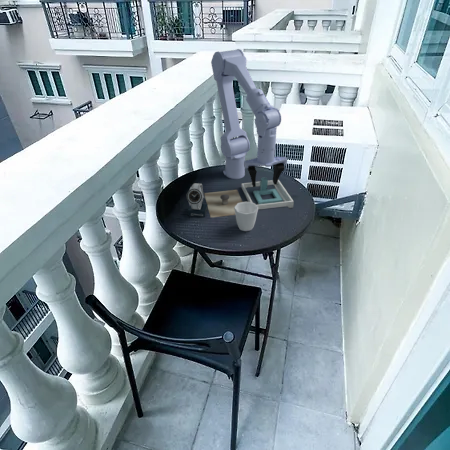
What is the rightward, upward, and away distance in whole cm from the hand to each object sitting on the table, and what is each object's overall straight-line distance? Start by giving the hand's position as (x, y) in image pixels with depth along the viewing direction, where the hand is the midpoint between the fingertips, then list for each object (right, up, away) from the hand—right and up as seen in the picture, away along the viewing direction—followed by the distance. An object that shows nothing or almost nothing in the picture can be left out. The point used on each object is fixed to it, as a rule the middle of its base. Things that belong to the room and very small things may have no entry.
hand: (264, 184), depth 116 cm
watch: (-22, -11, -8) cm, 26 cm away
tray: (+1, -5, 0) cm, 5 cm away
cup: (-7, -15, -14) cm, 22 cm away
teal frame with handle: (+1, -5, -2) cm, 5 cm away
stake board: (-14, -7, -4) cm, 16 cm away
